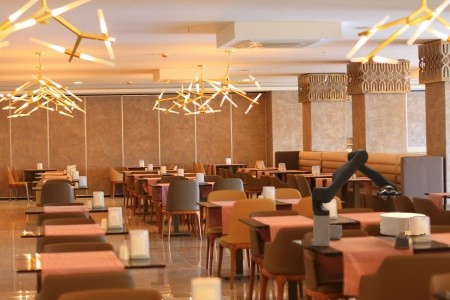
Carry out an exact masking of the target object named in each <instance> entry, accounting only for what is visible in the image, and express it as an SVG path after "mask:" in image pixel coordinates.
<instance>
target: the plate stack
mask: <svg viewBox="0 0 450 300" xmlns="http://www.w3.org/2000/svg"><path fill="white" fill-rule="evenodd" d="M413 216H425V217H427V216H426V215H425V214H422V213H415V212H387V213H386V212H385V213H380V214H379V217H380V218H379V220H380V223H379V225H380V226H379V229H380V231H379V233H380V234H382V235H387V236H395V237H396V236H399V217H403V218H405V230H408V224H409V218H410V217H413Z"/></svg>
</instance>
